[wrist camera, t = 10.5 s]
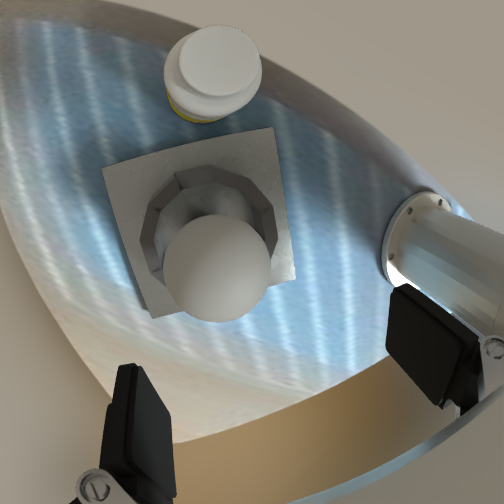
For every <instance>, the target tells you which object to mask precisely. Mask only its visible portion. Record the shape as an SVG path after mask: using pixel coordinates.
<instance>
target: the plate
mask: <svg viewBox="0 0 504 504" xmlns="http://www.w3.org/2000/svg"><path fill="white" fill-rule="evenodd" d="M204 165H213V166H216V167H219V168H223V169H226V170H229V171H232V172H235V173H239V174H241V175H243V176H245V177H247V178H249V179H251V180H252V182H253V183H254V184H255V185H256V186H257V187H258V189H259V190H260V191H261V192H262V193H263V194H264V196H265V197H266V198H267V199H268V200H269V201H270V203H271V204H272V206H273V208H274V214H275V220H276V227H277V233H278V242H277V244H276V247H275V250H274V252H273V255H272V258H271V260H270V262H271V275H270V281H269V285H268V287H270V286H273V285H277V284H280V283H283V282H287V281H290V280H293V279H296V275H295V267H294V259H293V252H292V244H291V237H290V230H289V223H288V216H287V209H286V202H285V195H284V189H283V182H282V176H281V170H280V164H279V158H278V152H277V146H276V140H275V134H274V128H273V127H269V128H263V129H257V130H251V131H245V132H240V133H234V134H229V135H224V136H219V137H215V138H210V139H205V140H201V141H196V142H192V143H188V144H184V145H180V146H176V147H172V148H168V149H164V150H161V151H157V152H153V153H150V154H146V155H143V156H139V157H136V158H133V159H129V160H126V161H123V162H120V163H117V164H114V165H110V166H107V167H104V168H102V172H103V176H104V180H105V184H106V188H107V191H108V195H109V199H110V202H111V205H112V209H113V212H114V216H115V219H116V222H117V225H118V228H119V232H120V235H121V238H122V241H123V244H124V247H125V250H126V253H127V255H128V258H129V261H130V264H131V267H132V269H133V272H134V275H135V277H136V280H137V283H138V285H139V288H140V290H141V293H142V296H143V298H144V301H145V303H146V305H147V308H148V310H149V313H150V315H151V317H152V319H154V318H158V317H162V316H165V315H169V314H173V313H177V312H181V311H183V310H182V309H181V308H180V307H179V306H178V304H177V303H176V302H175V301H174V300H173V298H172V297H171V295H170V293H169V291H168V289H167V287H165V286H164V285H163V284H162V283H161V282H159V281H158V280H157V279H156V278H155V277H154V276H152V275H151V273H150V271H149V268H148V266H147V263H146V260H145V257H144V254H143V251H142V248H141V245H140V240H139V239H140V235H141V230H142V226H143V222H144V218H145V214H146V210H147V206H148V203H149V201H150V199H151V197H152V195H153V194H154V193H155V192H156V191H157V190H158V189H159V188H160V187H161V186H162V185H163V184H164V183H165V182H167V181H168V180H169V179H170V178H171V177H172V176H173V175H174V174H175V173H176V172H180V171H184V170H188V169H192V168H196V167H200V166H204ZM207 215H226V216H232V217H235V218H237V219H240V220H242V221H244V222H245V223H247V224H249V225H250V226H251V227H252V228H253V229H254V230H255V224H254V219H253V214H252V208H251V204H250V202H249V201H248V200H247V199H246V198H245V197H244V196H243V195H242V194H241V192H240V191H239V190H237V189H234V188H231V187H227V186H224V185H221V184H217V183H214V182H212V183H208V184H204V185H200V186H196V187H192V188H188V189H184V190H182V191H181V192H180V193H179V194H178V195H177V196H176V197H175V198H174V199H173V200H172V201H171V202H170V203H169V204H168V205H167V206H166V207H165V208H164V209H163V210H162V211H161V212H160V216H159V220H158V223H157V227H156V231H157V235H158V238H159V241H160V245H161V248H162V251H163V253H164V254H165V253H166V250H167V247H168V245H169V243H170V241H171V240H172V238H173V237H174V235H175V234H176V233H177V232H178V231H179V230H180V229H181V228H182V227H183V226H185V225H186V224H187V223H189V222H190V221H192V220H195V219H197V218H199V217H203V216H207Z"/></svg>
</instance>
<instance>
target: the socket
mask: <svg viewBox="0 0 504 504" xmlns="http://www.w3.org/2000/svg"><path fill="white" fill-rule="evenodd" d="M212 182H214V183H217V184H221V185H224V186H227V187H231V188H234V189H237V190H239V191H240V192H241V194H242V195H243V196H244V197H245V198H246V199H247V200H248V201H249V202H250V204H251V208H252V214H253V219H254V224H255V231H256V232H257V233H258V234H259V235H260V236H261V238H262V239H263V241H264V242H265V244H266V247H267V250H268V252H269V256H270V260H271V258H272V255H273V252H274V250H275V247H276V244H277V242H278V233H277V227H276V220H275V214H274V208H273V206H272V204H271V203H270V201H269V200H268V199H267V198H266V197H265V196H264V194H263V193H262V192H261V191H260V190H259V189H258V187H257V186H256V185H255V184H254V183H253V182H252V180H251V179H249V178H247V177H245V176H243V175H241V174H239V173H235V172H232V171H229V170H226V169H223V168H219V167H216V166H213V165H204V166H200V167H196V168H192V169H188V170H184V171H180V172H176V173H175V174H174V175H173V176H172V177H171V178H170V179H169V180H168V181H167V182H165V183H164V184H163V185H162V186H161V187H160V188H159V189H158V190H157V191H156V192H155V193H154V194H153V195H152V197H151V199H150V201H149V203H148V206H147V210H146V214H145V218H144V222H143V226H142V230H141V235H140V239H139V240H140V245H141V248H142V251H143V254H144V257H145V260H146V263H147V266H148V268H149V271H150V273H151V275H152V276H154V277H155V278H156V279H157V280H158V281H159V282H161V283H162V284H163V285H164V286H165V287H167V286H166V283H165V280H164V273H163V264H164V256H165V254H164V253H163V251H162V248H161V245H160V241H159V238H158V235H157V231H156V227H157V223H158V220H159V216H160V212H161V211H162V210H163V209H164V208H165V207H166V206H167V205H168V204H169V203H170V202H171V201H172V200H173V199H174V198H175V197H176V196H177V195H178V194H179V193H180V192H181V191H182V190H184V189H188V188H192V187H196V186H200V185H204V184H208V183H212Z"/></svg>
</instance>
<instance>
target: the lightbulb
mask: <svg viewBox="0 0 504 504" xmlns="http://www.w3.org/2000/svg"><path fill="white" fill-rule="evenodd" d="M163 273H164V280H165V283H166V286H167V289H168V291H169V293H170V295H171V297H172V298H173V300H174V301H175V302H176V303H177V304H178V306H179V307H180V308H181V309H182V310H183V311H185V312H186V313H188V314H189V315H191V316H193V317H195V318H197V319H200V320H204V321H208V322H227V321H231V320H235V319H237V318H239V317H242V316H244V315H245V314H247V313H248V312H250V311H251V310H252V309H253V308H254V307H255V306H256V305H257V304H258V303H259V302H260V300H261V299H262V298H263V296H264V294H265V292H266V290H267V288H268V285H269V281H270V275H271V262H270V256H269V252H268V250H267V247H266V244H265V242H264V241H263V239H262V238H261V236H260V235H259V234H258V233H257V232H256V231H255V230H254V229H253V228H252V227H251V226H250V225H249V224H247V223H245V222H244V221H242V220H240V219H237V218H235V217H232V216H226V215H207V216H203V217H199V218H197V219H195V220H192V221H190V222H189V223H187V224H186V225H185V226H183V227H182V228H181V229H180V230H179V231H178V232H177V233H176V234H175V235H174V237H173V238H172V240H171V241H170V243H169V245H168V247H167V250H166V253H165V256H164V264H163Z"/></svg>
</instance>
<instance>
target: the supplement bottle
mask: <svg viewBox="0 0 504 504" xmlns="http://www.w3.org/2000/svg"><path fill="white" fill-rule="evenodd" d="M261 78H262V64H261V60H260V57H259V52H258V49H257V47H256V45H255V43H254V42H253V40H252V39H251V38H250V37H249V36H248V35H247V34H245V33H244V32H242V31H240V30H239V29H236V28H234V27H231V26H226V25H212V26H208V27H204V28H201V29H199V30H197V31H194V32H192V33H190V34H188V35H186V36H185V37H183V38H182V39H180V40H179V41H178V42H177V43H176V44H175V45H174V46H173V48H172V49H171V51H170V52H169V54H168V56H167V58H166V61H165V65H164V82H165V88H166V92H167V97H168V101H169V104H170V106H171V107H172V109H173V110H174V112H175V113H176V114H177V115H178V116H180V117H181V118H182V119H184V120H186V121H189V122H192V123H196V124H206V123H211V122H214V121H217V120H219V119H221V118H223V117H225V116H227V115H229V114H231V113H233V112H235V111H237V110H239V109H240V108H242V107H243V106H245V105H246V104H247V103H248V102H249V101H250V100H251V99H252V98H253V97H254V95H255V94H256V92H257V90H258V88H259V86H260V83H261Z"/></svg>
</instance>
